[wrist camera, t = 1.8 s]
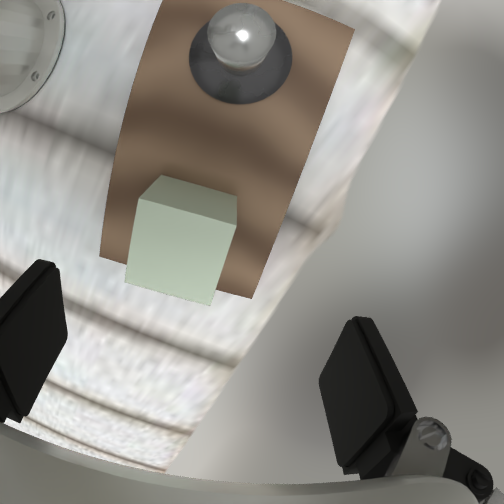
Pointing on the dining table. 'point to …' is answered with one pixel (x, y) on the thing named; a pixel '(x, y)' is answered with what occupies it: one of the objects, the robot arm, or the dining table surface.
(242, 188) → the board
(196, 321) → the dining table surface
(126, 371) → the dining table surface
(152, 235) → the pale green cube
